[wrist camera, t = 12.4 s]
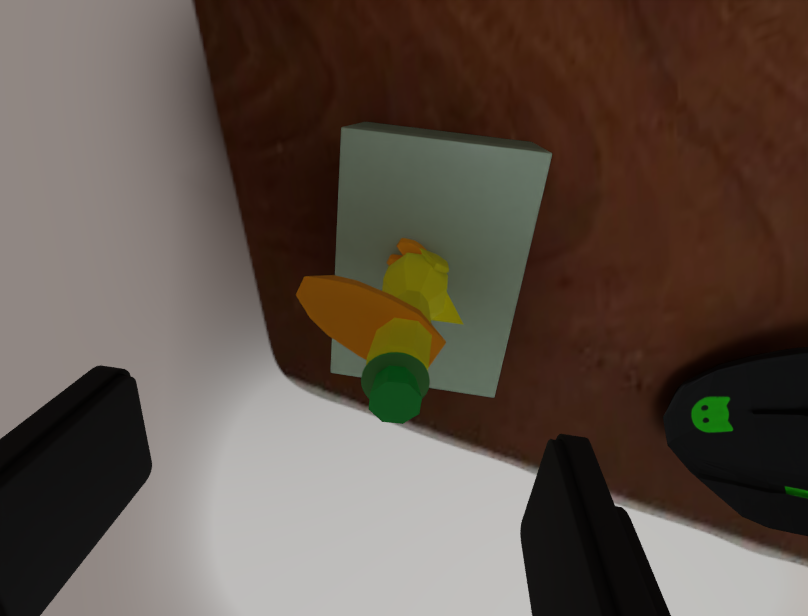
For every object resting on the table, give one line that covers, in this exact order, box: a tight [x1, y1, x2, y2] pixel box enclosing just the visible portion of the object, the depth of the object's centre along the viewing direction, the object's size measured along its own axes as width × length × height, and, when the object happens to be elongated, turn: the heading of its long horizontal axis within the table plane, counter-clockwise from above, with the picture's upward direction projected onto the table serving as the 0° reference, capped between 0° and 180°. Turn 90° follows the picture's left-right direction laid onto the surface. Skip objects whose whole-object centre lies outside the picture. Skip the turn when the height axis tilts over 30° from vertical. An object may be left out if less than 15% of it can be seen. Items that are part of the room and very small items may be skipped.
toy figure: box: [296, 238, 464, 424], centre depth 18 cm, size 7×4×12 cm, turn 61°
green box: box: [331, 122, 552, 397], centre depth 27 cm, size 10×14×6 cm
